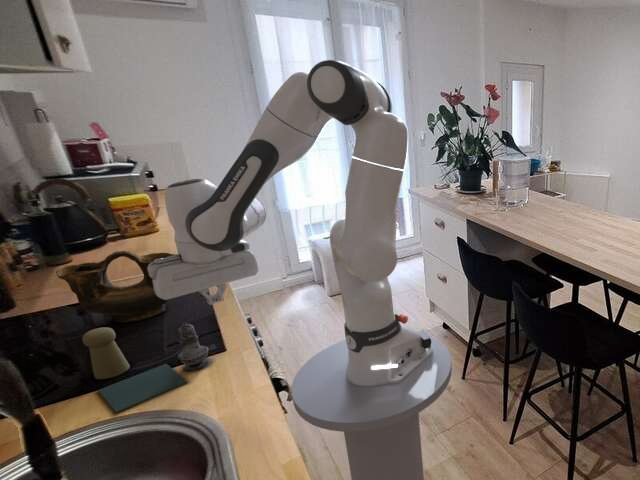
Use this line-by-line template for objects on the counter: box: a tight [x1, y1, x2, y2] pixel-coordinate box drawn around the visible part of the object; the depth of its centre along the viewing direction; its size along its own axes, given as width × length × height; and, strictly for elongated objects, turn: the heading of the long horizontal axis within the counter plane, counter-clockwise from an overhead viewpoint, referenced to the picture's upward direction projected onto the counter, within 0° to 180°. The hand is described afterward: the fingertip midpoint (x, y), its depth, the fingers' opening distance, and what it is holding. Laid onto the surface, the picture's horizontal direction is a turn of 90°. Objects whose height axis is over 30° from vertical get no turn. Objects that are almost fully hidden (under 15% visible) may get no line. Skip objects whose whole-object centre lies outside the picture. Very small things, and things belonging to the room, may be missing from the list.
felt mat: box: [97, 363, 189, 414], centre depth 91 cm, size 12×12×1 cm
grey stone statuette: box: [177, 321, 212, 373], centre depth 97 cm, size 6×6×12 cm
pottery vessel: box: [55, 250, 178, 323], centre depth 117 cm, size 25×11×20 cm, turn 132°
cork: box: [81, 326, 131, 380], centre depth 94 cm, size 6×6×11 cm
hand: (215, 302), depth 100 cm, fingers closed
